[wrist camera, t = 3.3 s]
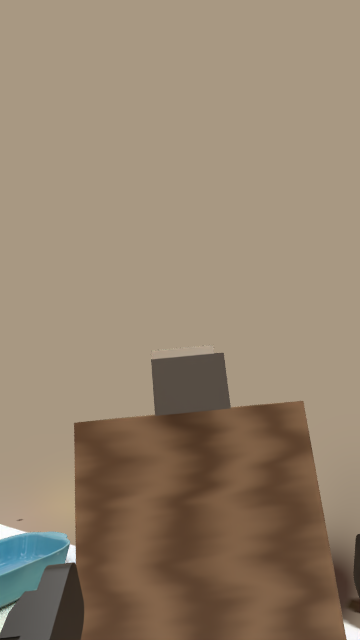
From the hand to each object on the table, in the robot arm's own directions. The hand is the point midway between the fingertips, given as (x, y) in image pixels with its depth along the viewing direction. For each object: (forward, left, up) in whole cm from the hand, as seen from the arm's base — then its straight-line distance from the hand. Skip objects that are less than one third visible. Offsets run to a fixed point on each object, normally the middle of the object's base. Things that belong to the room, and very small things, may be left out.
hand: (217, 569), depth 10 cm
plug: (0, -17, +4) cm, 17 cm away
